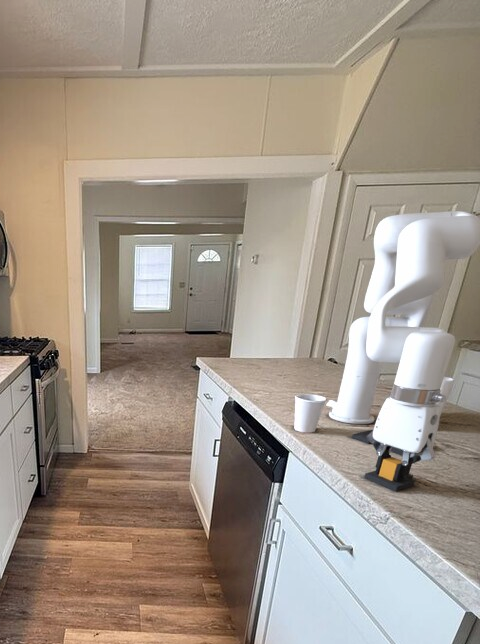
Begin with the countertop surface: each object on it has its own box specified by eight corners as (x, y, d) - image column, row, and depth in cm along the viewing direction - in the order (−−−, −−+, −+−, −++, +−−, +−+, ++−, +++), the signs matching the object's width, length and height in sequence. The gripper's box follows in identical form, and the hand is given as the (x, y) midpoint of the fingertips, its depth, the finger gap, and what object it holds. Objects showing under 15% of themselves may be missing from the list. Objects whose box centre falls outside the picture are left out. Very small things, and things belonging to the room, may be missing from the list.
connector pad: (363, 478, 91) (369, 457, 89) (388, 471, 94) (394, 450, 92) (395, 491, 85) (402, 469, 83) (421, 483, 88) (428, 462, 86)
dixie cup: (313, 425, 124) (319, 393, 121) (325, 434, 117) (332, 401, 113) (285, 424, 125) (290, 393, 121) (295, 434, 118) (301, 401, 114)
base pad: (351, 437, 114) (352, 433, 114) (379, 431, 118) (380, 427, 118) (402, 455, 102) (404, 451, 102) (431, 447, 106) (433, 443, 106)
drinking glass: (443, 431, 118) (460, 381, 112) (417, 430, 119) (432, 380, 113) (430, 424, 124) (446, 376, 118) (406, 422, 125) (420, 375, 120)
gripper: (473, 402, 76) (442, 488, 83) (385, 384, 90) (365, 459, 97) (449, 407, 73) (419, 496, 80) (362, 388, 87) (343, 464, 94)
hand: (390, 475), depth 88 cm, fingers open, 3 cm apart
